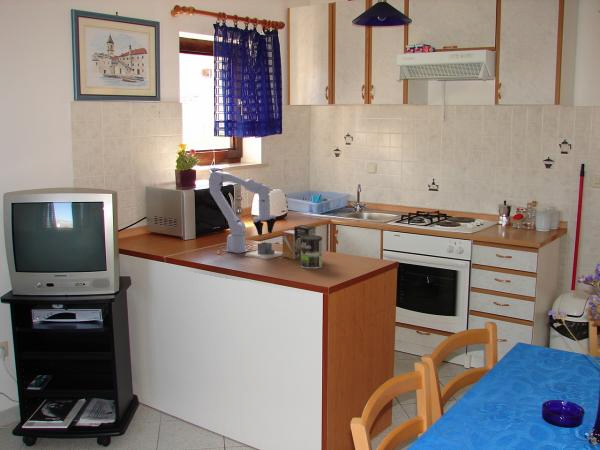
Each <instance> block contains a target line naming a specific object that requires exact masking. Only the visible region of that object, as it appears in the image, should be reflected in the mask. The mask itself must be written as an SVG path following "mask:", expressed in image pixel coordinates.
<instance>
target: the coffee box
mask: <svg viewBox="0 0 600 450" xmlns="http://www.w3.org/2000/svg"><path fill="white" fill-rule="evenodd" d="M293 231H294V233H295V258H296V259H298V260H301V239H300V237H302V236H308V235H315V236H316V233H317V232H316V226H312V225H305V224H301V225H297V226H294V230H293Z"/></svg>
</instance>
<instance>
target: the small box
mask: <svg viewBox="0 0 600 450" xmlns="http://www.w3.org/2000/svg"><path fill="white" fill-rule="evenodd" d="M281 232H282V252H283V255H282V257H283V258H287V259H291V260H296V259H297V258H295V233H294V230H291V229H290V230H284V231H281Z"/></svg>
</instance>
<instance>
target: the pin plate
mask: <svg viewBox="0 0 600 450" xmlns="http://www.w3.org/2000/svg"><path fill="white" fill-rule="evenodd" d="M244 255H245V257H249V258H254V259H261V260H270V259H273V258H278V257H281V256H283V251H276V250H274V254H273V255H269V254H259V253H258V250H256V251H251V252H248V253H245V254H244Z"/></svg>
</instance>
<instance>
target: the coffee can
mask: <svg viewBox="0 0 600 450" xmlns="http://www.w3.org/2000/svg"><path fill="white" fill-rule="evenodd" d="M300 239H301V259H300V268H302V269H306V270H307V269H309V270H311V269H312V270H314V269H321V268H322V267H323V237H322V236H321V235H316V234H315V235H308V236H302V237H300Z"/></svg>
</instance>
